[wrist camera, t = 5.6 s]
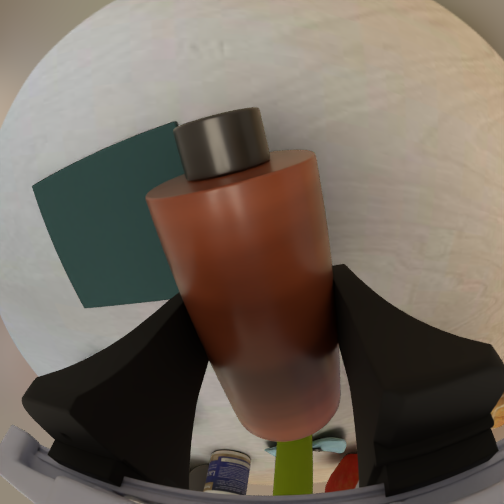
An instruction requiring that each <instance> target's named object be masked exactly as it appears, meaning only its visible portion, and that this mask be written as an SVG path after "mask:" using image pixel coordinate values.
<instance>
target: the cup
mask: <svg viewBox="0 0 504 504" xmlns="http://www.w3.org/2000/svg"><path fill="white" fill-rule="evenodd" d="M208 468H209V465H201V466H198V467H196V468H194V469H193V470H192V471H191V472H190V473H189V490H193V491H200V492H203V491H204V487H205V482H206V478H207V473H208Z"/></svg>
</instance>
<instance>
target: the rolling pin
mask: <svg viewBox="0 0 504 504" xmlns="http://www.w3.org/2000/svg"><path fill="white" fill-rule="evenodd" d="M173 134H174V138H175V142H176V145H177V149H178V153H179V156H180V160H181V163H182V167H183V170H184V174H183V175H180V176H178V177H175V178H173V179H171V180H168V181H166V182H164V183H162V184H160V185H158V186H157V187H155V188H153V189H152V190H151V191H149V192H148V193H147V194H146V202H147V205H148V208H149V211H150V214H151V217H152V220H153V223H154V226H155V228H156V231H157V234H158V237H159V240H160V242H161V245H162V248H163V251H164V253H165V256H166V259H167V261H168V264H169V267H170V269H171V272H172V274H173V277H174V279H175V282H176V285H177V287H178V290H179V292H180V294H181V297H182V299H183V302H184V304H185V307H186V309H187V311H188V314H189V316H190V318H191V321H192V323H193V325H194V328H195V330H196V332H197V334H198V337H199V339H200V341H201V343H202V346H203V348H204V350H205V352H206V354H207V356H208V359H209V361H210V363H211V365H212V367H213V369H214V371H215V373H216V375H217V378H218V380H219V382H220V384H221V386H222V388H223V390H224V392H225V394H226V396H227V398H228V400H229V402H230V404H231V406H232V407H233V409H234V411H235V413H236V415H237V417H238V419H239V421H240V422H241V424H242V425H243V426H244V427H245V428H246V429H247V430H248V431H249V432H251V433H252V434H254V435H255V436H257V437H260V438H262V439H266V440H270V441H277V442H287V441H294V440H298V439H302V438H305V437H307V436H310V435H312V434H314V433H315V432H317V431H318V430H320V429H321V428H323V427H324V426H325V425H326V424H327V423H328V422H329V421H330V420H331V419H332V417H333V416H334V414H335V413H336V411H337V408H338V406H339V403H340V396H341V390H340V360H339V344H338V333H337V319H336V306H335V295H334V285H333V269H332V260H331V252H330V244H329V236H328V228H327V221H326V214H325V207H324V201H323V194H322V188H321V182H320V176H319V171H318V165H317V160H316V155H315V153H314V152H312V151H308V150H282V151H273V152H269V148H268V143H267V139H266V135H265V130H264V126H263V122H262V118H261V113H260V110H259V108H256V107H251V108H244V109H238V110H233V111H228V112H224V113H220V114H216V115H212V116H208V117H205V118H201V119H198V120H195V121H191V122H188V123H186V124H183V125H180V126H178V127H176V128H175V129H173Z"/></svg>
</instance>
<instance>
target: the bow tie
mask: <svg viewBox="0 0 504 504" xmlns="http://www.w3.org/2000/svg"><path fill="white" fill-rule="evenodd" d="M345 448H346V441H345V440H344V439H340V438H334V437H327V438H322V439H318V440H315V441H312V451H318V452H320V451H330V452H335V453H343V452H344V451H345ZM265 451H266V452H268V453H269V454H271V455H273V456H275V457H276V447H272V448H267V449H265Z"/></svg>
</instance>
